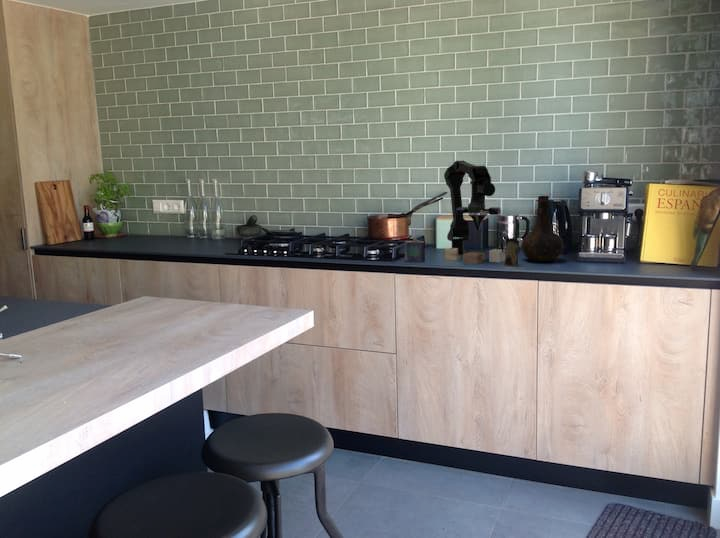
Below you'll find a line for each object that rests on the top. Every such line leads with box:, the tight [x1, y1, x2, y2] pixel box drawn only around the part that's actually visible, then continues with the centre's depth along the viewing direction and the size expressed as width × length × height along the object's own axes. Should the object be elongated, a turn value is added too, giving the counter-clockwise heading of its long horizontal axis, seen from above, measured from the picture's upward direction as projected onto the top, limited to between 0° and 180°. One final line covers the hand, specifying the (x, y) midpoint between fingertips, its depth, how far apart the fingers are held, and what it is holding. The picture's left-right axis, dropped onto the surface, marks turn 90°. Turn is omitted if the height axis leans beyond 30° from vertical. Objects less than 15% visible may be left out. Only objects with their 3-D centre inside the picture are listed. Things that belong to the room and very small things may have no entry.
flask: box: [404, 237, 426, 263], centre depth 296 cm, size 9×3×11 cm, turn 65°
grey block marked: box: [488, 248, 506, 264], centre depth 292 cm, size 5×5×5 cm
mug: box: [500, 235, 519, 267], centre depth 281 cm, size 8×6×12 cm
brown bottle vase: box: [521, 195, 565, 263], centre depth 288 cm, size 18×18×28 cm
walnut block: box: [462, 251, 486, 265], centre depth 291 cm, size 7×7×4 cm
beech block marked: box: [444, 247, 459, 262], centre depth 299 cm, size 5×5×5 cm
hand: (478, 230), depth 295 cm, fingers closed
